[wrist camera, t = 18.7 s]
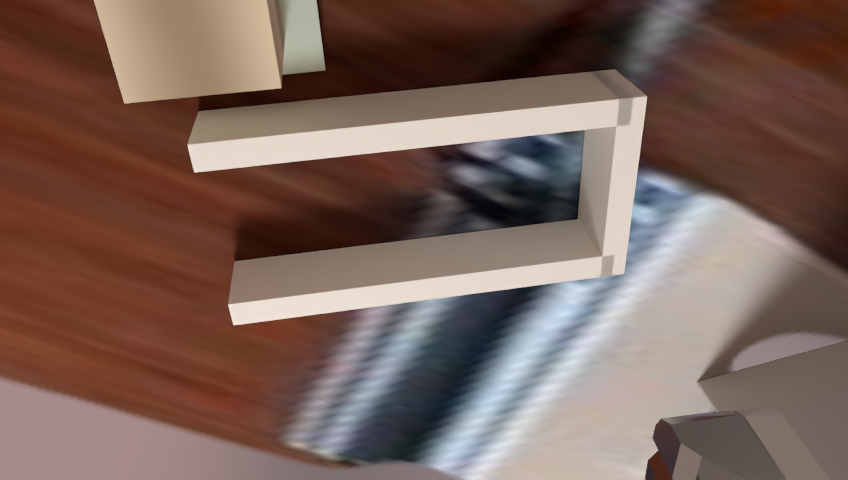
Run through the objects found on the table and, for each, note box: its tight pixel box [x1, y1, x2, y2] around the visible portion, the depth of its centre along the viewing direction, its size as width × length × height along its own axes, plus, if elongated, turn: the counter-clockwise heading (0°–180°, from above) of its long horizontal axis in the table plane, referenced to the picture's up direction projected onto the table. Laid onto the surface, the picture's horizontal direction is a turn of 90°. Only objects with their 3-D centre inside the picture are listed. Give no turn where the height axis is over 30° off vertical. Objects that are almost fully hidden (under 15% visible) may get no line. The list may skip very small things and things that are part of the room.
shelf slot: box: [187, 69, 647, 325], centre depth 31 cm, size 19×9×4 cm, turn 93°
